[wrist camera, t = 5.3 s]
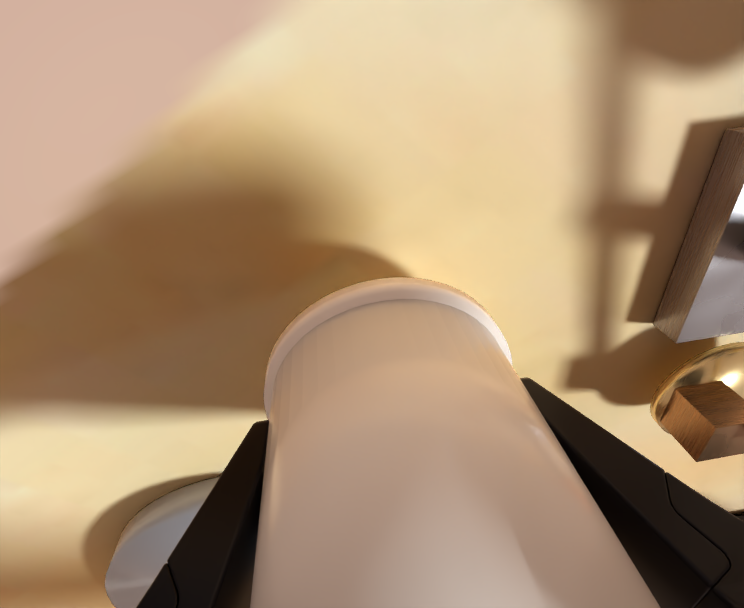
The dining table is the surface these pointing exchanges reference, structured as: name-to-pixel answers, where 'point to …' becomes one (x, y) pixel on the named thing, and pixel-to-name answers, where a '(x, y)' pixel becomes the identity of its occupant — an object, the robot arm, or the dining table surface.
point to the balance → (708, 316)
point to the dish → (151, 542)
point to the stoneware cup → (420, 468)
